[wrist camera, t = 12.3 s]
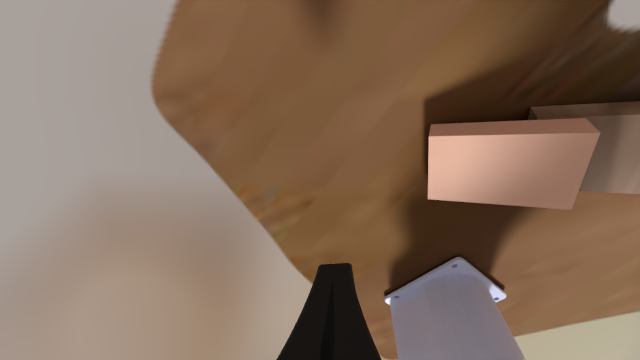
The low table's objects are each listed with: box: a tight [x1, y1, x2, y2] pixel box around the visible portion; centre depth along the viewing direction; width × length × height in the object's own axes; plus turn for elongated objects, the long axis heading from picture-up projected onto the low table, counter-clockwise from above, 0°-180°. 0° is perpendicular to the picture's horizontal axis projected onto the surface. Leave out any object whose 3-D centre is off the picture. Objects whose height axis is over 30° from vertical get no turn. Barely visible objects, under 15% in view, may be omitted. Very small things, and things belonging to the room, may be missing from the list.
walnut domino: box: [528, 101, 640, 194], centre depth 16 cm, size 2×5×8 cm
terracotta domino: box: [428, 118, 600, 210], centre depth 17 cm, size 2×5×8 cm
